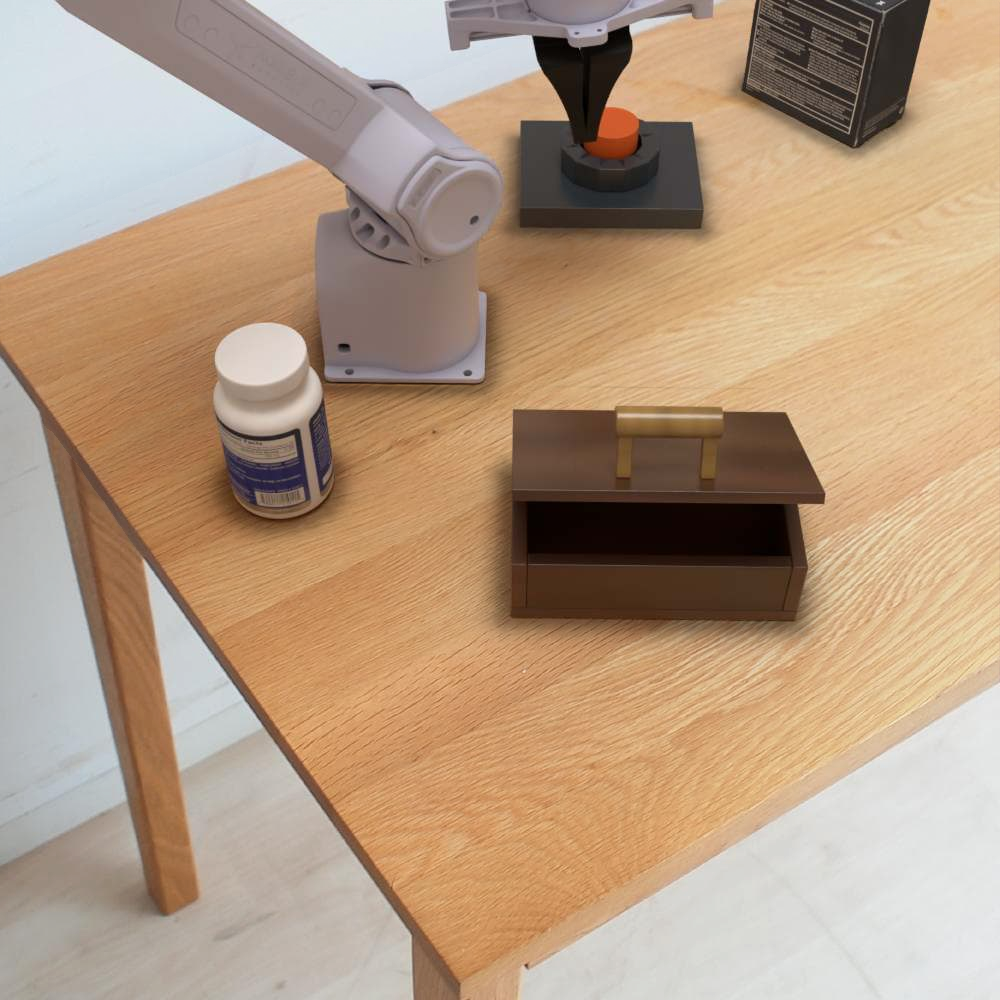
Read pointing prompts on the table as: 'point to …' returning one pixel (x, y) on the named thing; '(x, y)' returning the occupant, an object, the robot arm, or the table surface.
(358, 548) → the table surface
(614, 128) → the button
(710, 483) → the lid
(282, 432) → the pill bottle
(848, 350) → the table surface
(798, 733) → the table surface
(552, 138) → the control block
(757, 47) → the small box
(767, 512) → the compartment
